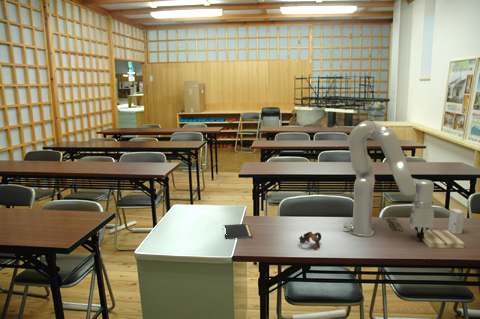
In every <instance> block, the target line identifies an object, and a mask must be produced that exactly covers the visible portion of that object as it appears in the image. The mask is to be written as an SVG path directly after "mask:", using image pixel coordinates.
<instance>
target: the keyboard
mask: <svg viewBox="0 0 480 319" xmlns="http://www.w3.org/2000/svg"><path fill="white" fill-rule="evenodd" d="M382 220H386V223H387V224H388V226H389V228H390V230H392V232H393V233H405V230H404V227H403V226H402V225H401V223H400V222H399V221H398V218H396V216H388V217H387V216H386V217H382Z"/></svg>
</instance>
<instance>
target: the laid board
mask: <svg viewBox="0 0 480 319" xmlns="http://www.w3.org/2000/svg"><path fill="white" fill-rule="evenodd" d="M429 230H430V231H431V232H432V233H433V234H435V235H436V236H437V237H438V238H439V239H440V240H442V241H443V242H444V243H445V244H447V248H446V249H465V244H466V243H465V242H464V241H462V240H461V239H460V238H458V237H457V236H456V235H455V234H454V233H452V232H450V231H449V230H448V229H447V230H446V229H445V230H442V229H441V230H437V229H436V230H434V229H433V230H432V229H429Z"/></svg>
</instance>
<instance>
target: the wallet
mask: <svg viewBox="0 0 480 319" xmlns="http://www.w3.org/2000/svg"><path fill="white" fill-rule="evenodd" d="M223 226H225V228H226V234H227V235H226V234H225V235H224V239H225V240H227V239H229V240H242V239H244V240H245V239H253V238H254V236H253V235H252V232H251V229H250V226H249V224H247V223H246V224H245V223H238V224H237V223H235V224H224V225H223ZM235 238H237V239H235Z"/></svg>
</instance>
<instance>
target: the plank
mask: <svg viewBox="0 0 480 319" xmlns="http://www.w3.org/2000/svg"><path fill="white" fill-rule="evenodd" d="M430 230H431V229H428V230H426V231H425V233H424V238H423V240H422V242H424V244H426V245H427V246H428V248H430V249H431V248H434V249H436V248H438V249H442V248H443V249H448V248H447V244H445V243H444V242H443V241H442V240H440V239H439V238H438V237H437V236H436V235H435V234H433V233H432V232H431V231H430ZM416 234H417V230H416V231H415V235H416Z"/></svg>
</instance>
